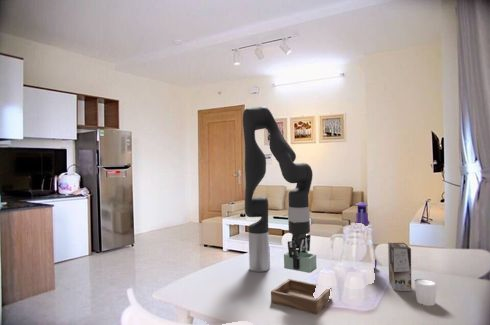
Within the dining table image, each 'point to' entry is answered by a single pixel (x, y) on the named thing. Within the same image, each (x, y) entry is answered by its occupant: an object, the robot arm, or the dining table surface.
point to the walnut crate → (299, 296)
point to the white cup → (426, 291)
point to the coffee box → (399, 266)
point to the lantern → (362, 217)
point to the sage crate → (301, 262)
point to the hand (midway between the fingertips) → (300, 266)
